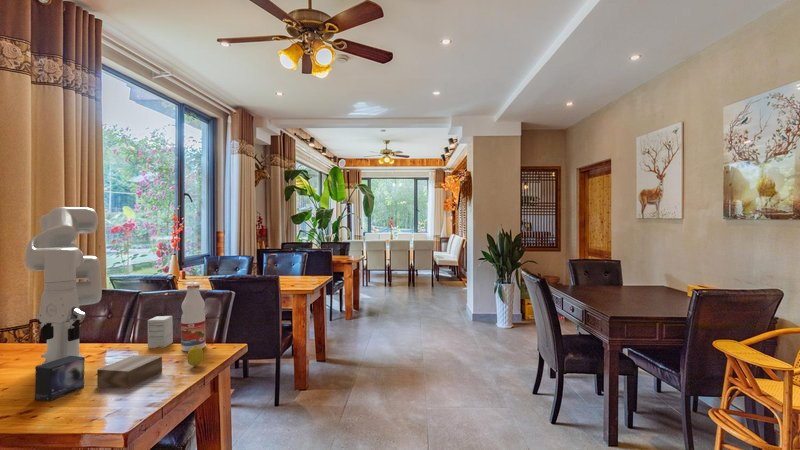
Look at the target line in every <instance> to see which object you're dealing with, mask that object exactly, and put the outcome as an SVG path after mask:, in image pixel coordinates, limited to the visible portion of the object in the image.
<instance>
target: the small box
mask: <svg viewBox="0 0 800 450" xmlns="http://www.w3.org/2000/svg"><path fill="white" fill-rule="evenodd" d="M41 364H42V363H41ZM41 364H39V365H35V366H34V367H35V374H34V375H35V376H34V377H35V379H34V380H35V382H34V383H35V384H34V398H33V399H34V401H42V402H43V401H44V402H51V401H54V400H56V399H58V398H62V397H64V396H67V395H69V394H72V393H74V392H76V391H79V390H81V389H84V388H85V356H84V357H79V356H68V357H64V358H61V359H58V360H55V361H51V362H48V363H45V364H42V365H41Z"/></svg>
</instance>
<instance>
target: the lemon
mask: <svg viewBox="0 0 800 450" xmlns="http://www.w3.org/2000/svg"><path fill="white" fill-rule="evenodd" d="M204 354H205V353H204V351H203V348H202V349H201V348H200V347H197V346H194V347H193V348H191V349H190V350H189V351H187V355H186V359H187V360H186V361H187V363H188V365H190V366H193V367H194V368H197V366H198V365H201V363H202V362H203V359H204Z"/></svg>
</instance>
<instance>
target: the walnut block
mask: <svg viewBox="0 0 800 450" xmlns="http://www.w3.org/2000/svg"><path fill="white" fill-rule="evenodd" d="M96 370H97V373H96V374H97V376H96V377H97V384H96V387H97V388H98V387H100V388H112V389H113V388H114V389H131V388H133V387H134V386H136V385H137V386H138V385H139V384H140V383H143V382H144V381H147V380H149V379H151V378H153V377H155V376H157V375H159V374H161V373H162V372H163V357H162V356H159V355H157V356H154V355H139V354H138V355H135V354H134V355H131V356H128V357H126V358H123V359H120V360H119V361H115V362H112V363H111V364H109V365H105V366H104V367H100V368H98V369H96Z"/></svg>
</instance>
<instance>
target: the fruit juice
mask: <svg viewBox="0 0 800 450" xmlns="http://www.w3.org/2000/svg"><path fill="white" fill-rule="evenodd" d="M200 288H201V287H200V284H194V283H193V284H188V285H187V286H186V289H187V291H186V294H185V297H184V299H183V301H182V302H181V311H182V314H181V318H180V338H181V339H180V346H181V347H180V348H181V351H183V352H188V351H189V350H190V349H191V348H193V347H194V346H197V347H200V348H201V349H202V350H203V349H204V348H205V347H206V312H205V311H204V310H205V307H206V302H205V300H204V299H203V296H202V295H201V292H200Z"/></svg>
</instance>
